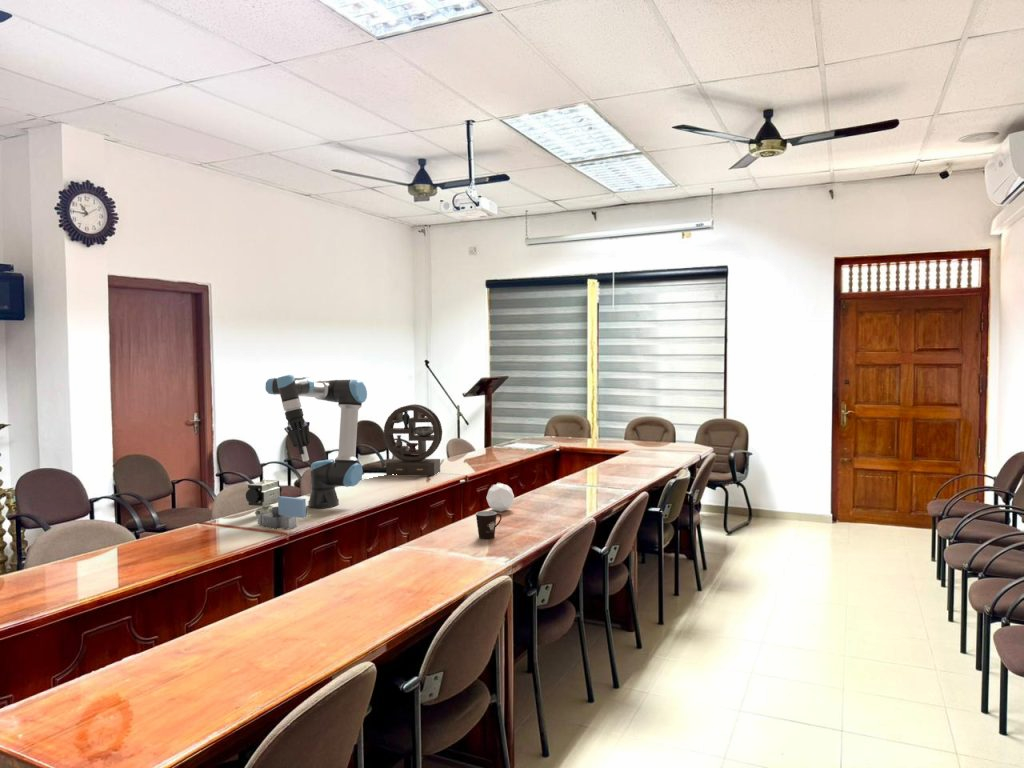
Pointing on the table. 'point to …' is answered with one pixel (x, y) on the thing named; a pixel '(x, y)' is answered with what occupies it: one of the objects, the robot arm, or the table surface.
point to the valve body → (276, 521)
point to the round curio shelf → (406, 460)
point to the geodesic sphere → (500, 497)
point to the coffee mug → (487, 524)
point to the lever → (290, 507)
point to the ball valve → (263, 495)
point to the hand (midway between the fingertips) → (306, 460)
